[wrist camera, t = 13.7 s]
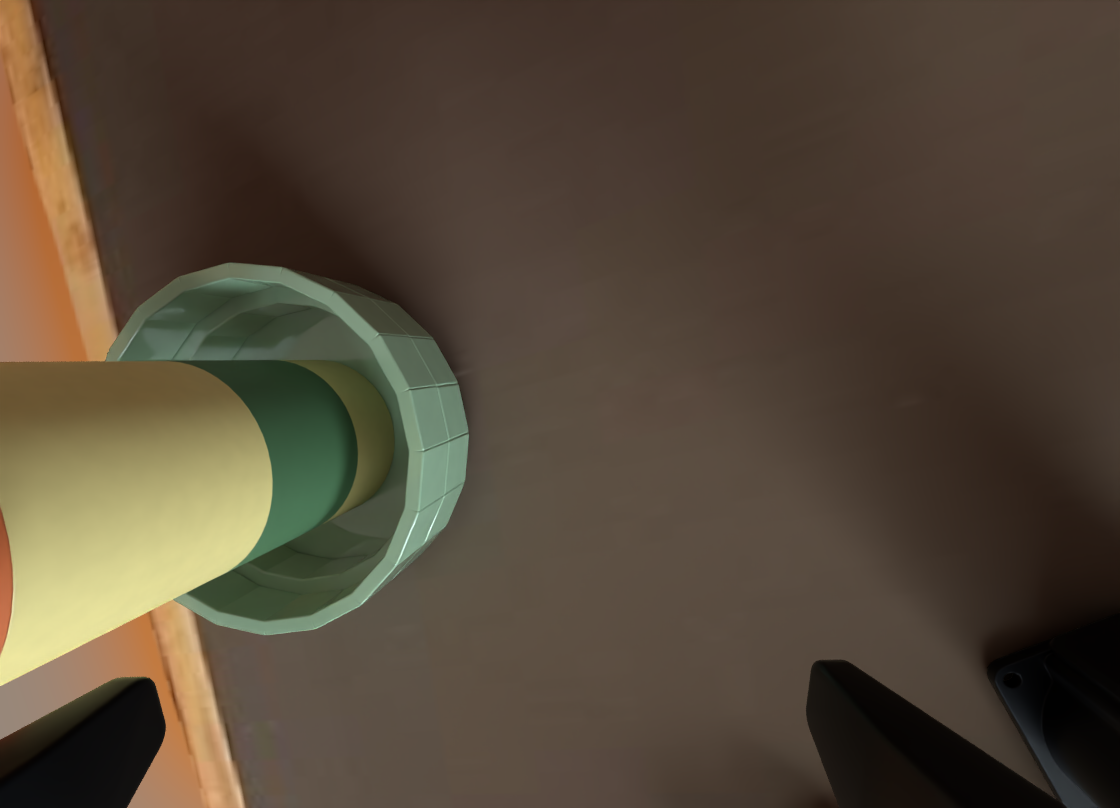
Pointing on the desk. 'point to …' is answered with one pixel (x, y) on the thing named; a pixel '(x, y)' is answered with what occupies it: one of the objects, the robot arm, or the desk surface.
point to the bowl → (377, 354)
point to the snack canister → (164, 482)
